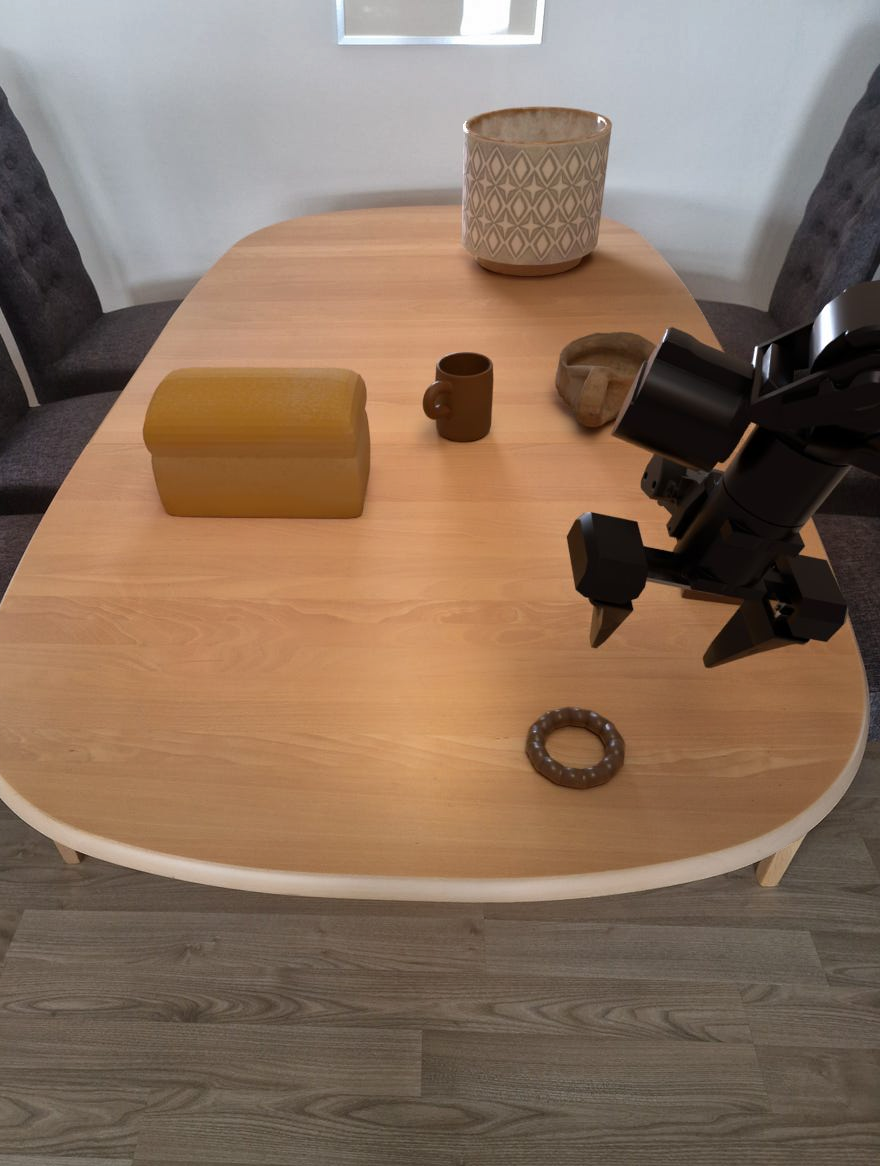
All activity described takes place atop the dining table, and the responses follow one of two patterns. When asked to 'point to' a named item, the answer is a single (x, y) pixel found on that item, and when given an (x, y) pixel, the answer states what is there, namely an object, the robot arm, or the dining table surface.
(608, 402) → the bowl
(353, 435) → the bread
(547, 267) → the planter
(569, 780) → the ring
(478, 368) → the mug
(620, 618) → the robot arm
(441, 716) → the dining table surface
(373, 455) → the dining table surface
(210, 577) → the dining table surface
